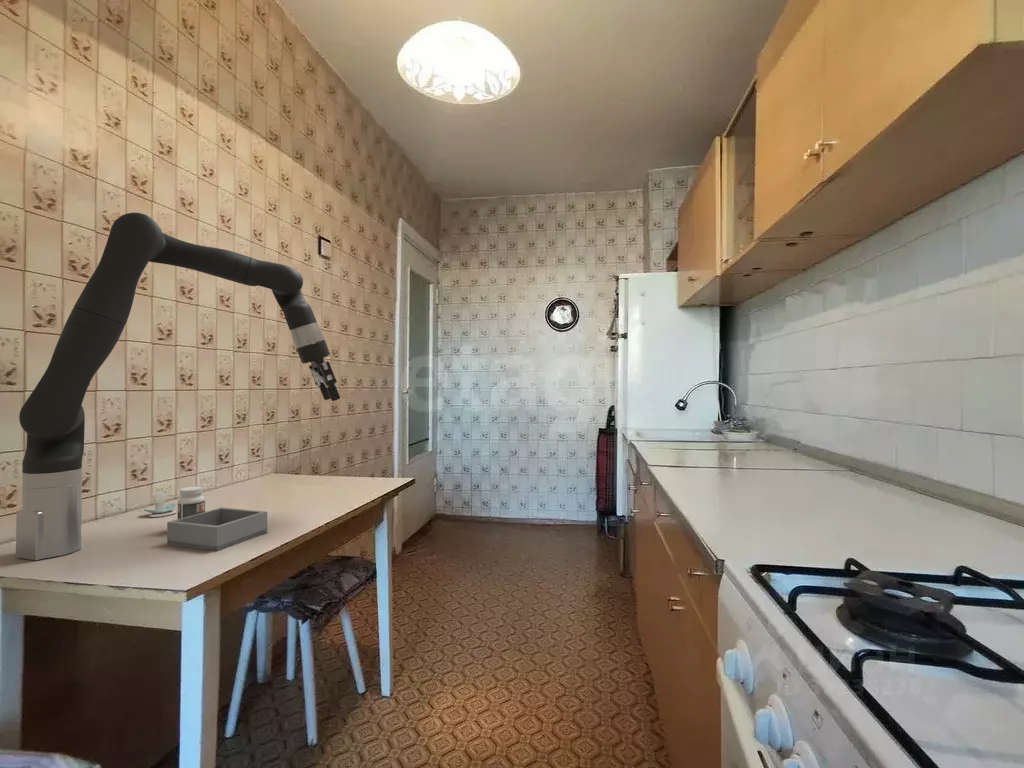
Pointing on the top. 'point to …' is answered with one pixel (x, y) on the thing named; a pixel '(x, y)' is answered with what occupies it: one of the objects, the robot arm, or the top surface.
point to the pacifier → (161, 506)
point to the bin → (216, 528)
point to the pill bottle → (190, 502)
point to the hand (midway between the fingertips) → (332, 399)
